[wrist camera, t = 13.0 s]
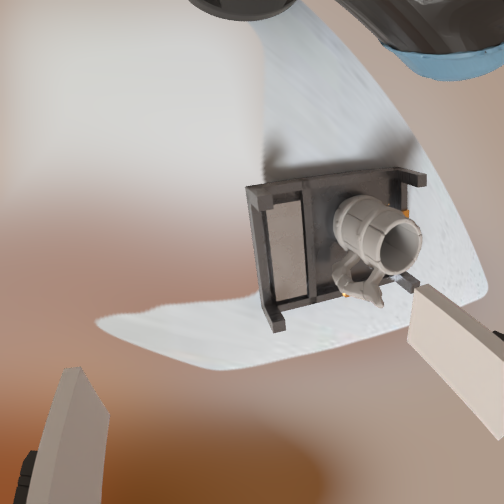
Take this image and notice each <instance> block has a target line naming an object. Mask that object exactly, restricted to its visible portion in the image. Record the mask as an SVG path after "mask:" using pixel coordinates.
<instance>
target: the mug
mask: <svg viewBox="0 0 504 504" xmlns="http://www.w3.org/2000/svg"><path fill="white" fill-rule="evenodd" d="M339 208H340V209H337V210H336V212H335V214H334V219H333V231H334V234H335V237H336V239H337V241H338V243H339V244H340V246H341V247H342V248H343V249H344V250H345V251H346V252H349V253H348V254H347V255H346V256H345V257H344V258H343V259H342V260H341V261H339V262H337V263H335V264H333V265H332V270H333V273H332V277H333V279H334V282H335V284H336V285H337V286H338V288H339V291H340V292H341V293H343V294H347V295H349V296H352V297H355V298H358V299H363V300H366V301H369V302H370V301H371V302H372V303H373V304H374V305H375V306H377V307H379V308H383V307H384V302H383V301H382V298H381V296H382V292H381V290H380V287H379V286H378V285H379V283H380V281H381V280H382V278H383V277H384V275H385V274H388V275H397V274H401V273H403V272H405V271H407V270H408V269H409V268H410V267H411V266H412V265H413V264H414V262H415V261H416V260H417V257H418V254H419V252H420V250H421V245H422V234H421V231H420V228H419V227H418V226H417V225H416V224H415V222H414V221H413V220H411V219H409V218H408V217H406V216H405V215H404V214H403V212H401V211H400V210H397V209H395V208H392V207H387V206H384V205H383V204H382V202H381V201H380V200H378V199H376V198H375V197H372V196H369V195H357V196H353V197H350V198H348V199H346V200H344V201H343V202H342V203H341V204H340V205H339ZM360 259H362V260H363V261H364V263H365V264H367V265H368V266H371V267H374V270H373V271H372V273H371V275H370V276H369V278H368V279H367V280H366V281H362V282H353V280H352V277H351V270H350V269H351V268H352V267H353V266H354V265H355V264H357V263H358V261H359V260H360Z"/></svg>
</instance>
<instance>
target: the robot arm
mask: <svg viewBox="0 0 504 504" xmlns="http://www.w3.org/2000/svg"><path fill="white" fill-rule="evenodd" d="M189 1H190V2H191V3H192V4H193V5H195V6H196V7H197V8H199V9H201V10H202V11H204V12H206V13H208V14H211V15H213V16H216V17H219V18H223V19H228V20H234V21H257V20H263V19H267V18H270V17H273V16H276V15H278V14H280V13H282V12H284V11H285V10H287V9H288V8H289V7H290V6H291V5H293V4H294V2H295V1H296V0H189ZM336 1H337V2H338V3H339V4H340V5H342V6H343V7H344V8H345V9H346V10H348V11H349V12H350V13H351V14H352V15H353V16H354V17H356V18H357V19H358V20H359V21H360V22H361V23H362V24H363V25H365V27H366V28H368V29H369V30H370V31H371V32H372V33H373V34H374V35H375V36H376V37H377V38H378V40H379V41H380V42H381V44H382V45H383V46H384V47H385V48H386V49H388V50H389V51H391V52H393V53H394V54H395V55H396V56H397V57H399V59H401V60H402V61H403V62H404V63H405V64H406V65H407V66H408V67H409V68H410V69H411V70H412V71H413V72H415V73H417V74H418V75H420V76H423V77H427V78H432V79H434V80H437V81H460V80H466V79H471V78H475V77H479V76H482V75H485V74H487V73H490V72H492V71H494V70H496V69H497V68H499V67H501V66H502V65H504V0H336ZM407 342H408V343H409V344H410V345H411V346H412V347H413V348H414V349H415V350H416V351H417V352H418V353H419V354H420V355H421V356H422V358H423V359H425V360H426V362H427V363H428V364H429V365H430V366H431V367H432V368H433V369H434V370H435V371H436V372H437V373H438V374H439V375H440V377H442V379H443V380H444V381H445V382H446V383H447V384H448V385H449V386H450V387H451V388H452V389H453V391H454V392H455V393H456V394H457V395H458V396H459V397H460V398H461V399H462V400H463V402H464V403H465V404H466V405H467V406H468V407H469V408H470V409H471V410H472V412H473V413H474V414H475V415H476V416H477V417H478V418H479V419H480V420H481V421H482V423H483V424H484V425H485V426H486V427H487V428H488V430H489V431H490V432H491V433H492V434H493V435H494V436H495V438H496V439H497V440H498V441H499V440H500V439H501V438H502V437H504V334H502V333H499V332H497V331H493V332H491V331H490V330H489V329H487V328H486V327H485V326H483V325H482V324H481V323H480V322H478V321H477V320H476V319H475V318H473V317H472V316H471V315H469V314H468V313H467V312H466V311H464V310H463V309H462V308H460V307H459V306H458V305H456V304H455V303H454V302H452V301H451V300H450V299H448V298H447V297H446V296H444V295H443V294H442V293H440V292H439V291H437V290H436V289H435V288H433V287H432V286H431V285H429V284H426V285H423V286H420V287H417V288H414V296H413V304H412V311H411V318H410V325H409V331H408V337H407ZM109 419H110V414H109V412H108V411H107V409H106V408H105V406H104V405H103V403H102V402H101V400H100V399H99V397H98V395H97V394H96V392H95V390H94V389H93V387H92V385H91V384H90V382H89V380H88V378H87V377H86V375H85V374H84V372H83V370H82V368H81V367H76V368H66V369H64V371H63V373H62V376H61V379H60V382H59V385H58V388H57V390H56V393H55V396H54V399H53V402H52V405H51V408H50V412H49V414H48V418H47V421H46V424H45V427H44V431H43V435H42V438H41V442H40V445H39V449H38V451H30V452H29V454H28V455H27V457H26V458H25V460H24V461H23V465H22V468H21V472H20V475H21V476H20V477H19V480H18V487H17V489H16V493H15V498H14V503H13V504H101V492H102V478H103V467H104V458H105V449H106V441H107V433H108V426H109Z"/></svg>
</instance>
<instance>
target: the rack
mask: <svg viewBox="0 0 504 504" xmlns="http://www.w3.org/2000/svg"><path fill="white" fill-rule="evenodd" d="M407 184H409V185H412V186H415V187H424V186H427V174H424V173H420V172H416V171H412V170H408V169H404V168H400V167H393V168H382V169H372V170H363V171H354V172H345V173H337V174H328V175H321V176H313V177H306V178H298V179H291V180H284V181H278V182H271V183H265V184H259V185H252V186H246V187H245V188H246V196H247V203H248V210H249V218H250V225H251V232H252V240H253V247H254V254H255V262H256V269H257V277H258V284H259V291H260V299H261V306H262V309H263V312H264V314H265V316H266V318H267V320H268V322H269V325H270V327H271V329H272V331H273V333H277V332H281V331H285V330H286V326H285V319H284V317H283V315H282V314H281V312H282V311H286V310H291V309H295V308H299V307H303V306H307V305H311V304H315V303H319V302H322V301H326V300H330V299H334V298H338V297H341V296H345V297H349V295H347V294H343V293H341V292H340V291H339V288H338V286H337V285H336V284H335V282H334V279H333V277H332V273H333V270H332V265H333V264H335V263H337V262H339V261H341V260H342V259H343V258H344V257H345V256H346V255H347V254H348V253H349V252H346V251H345V250H344V249H343V248H342V247H341V246H340V244H339V243H338V241H337V239H336V237H335V234H334V231H333V219H334V214H335V212H336V210H337V209H340V208H339V205H340V204H341V203H342V202H343V201H344V200H346V199H348V198H350V197H353V196H357V195H369V196H372V197H375V198H376V199H378V200H380V201H381V202H382V204H383V205H384V206H387V207H392V208H395V209H397V210H400V211H401V212H403V214H404V215H405V216H406V217H408V218H409V210H407ZM350 270H351V277H352V280H353V282H362V281H366V280H367V279H368V278H369V276H370V275H371V273H372V271H373V270H374V267H371V266H368V265H367V264H365V263H364V261H363V260H362V259H360V260H359V261H358V263H357V264H355V265H354V266H353V267H352V268H351V269H350ZM394 281H395V282H397V283H398V284H399V285H400V286H402V287H403V288H404V289H405V290H407V291H408V292H409V293H410V294H411V293H414V288H417V287H419V286H420V281H419V280H417V279H416V278H415V277H413V276H412V275H410V274H409V273H408V272H406V271H405V272H403V273H401V274H397V275H388V274H385V275H384V277H383V278H382V280H381V281H380V283H379V285H378V286H381V285H384V284H388V283H391V282H394Z"/></svg>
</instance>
